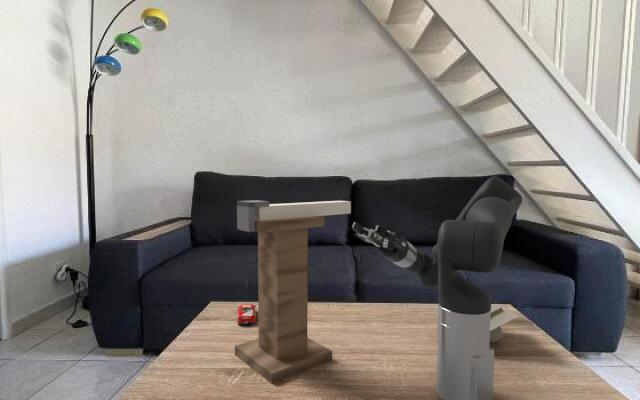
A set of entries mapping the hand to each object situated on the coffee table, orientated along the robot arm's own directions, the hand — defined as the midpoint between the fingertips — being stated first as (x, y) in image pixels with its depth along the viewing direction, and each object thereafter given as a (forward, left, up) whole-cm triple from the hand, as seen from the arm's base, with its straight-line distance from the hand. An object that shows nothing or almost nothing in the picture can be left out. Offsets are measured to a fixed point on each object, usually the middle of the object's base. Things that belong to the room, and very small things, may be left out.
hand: (364, 226), depth 103 cm
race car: (+27, +21, -28) cm, 44 cm away
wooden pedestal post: (0, +26, -28) cm, 38 cm away
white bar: (0, +22, +2) cm, 22 cm away
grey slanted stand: (-23, -17, -28) cm, 41 cm away
